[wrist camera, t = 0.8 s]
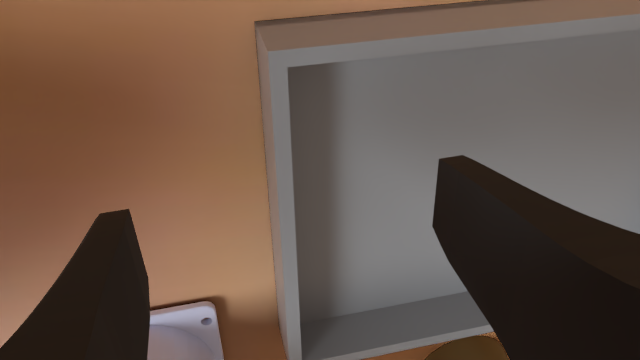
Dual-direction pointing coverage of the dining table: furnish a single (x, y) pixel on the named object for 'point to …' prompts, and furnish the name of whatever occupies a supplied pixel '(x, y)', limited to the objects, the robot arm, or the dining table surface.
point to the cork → (470, 350)
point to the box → (431, 151)
